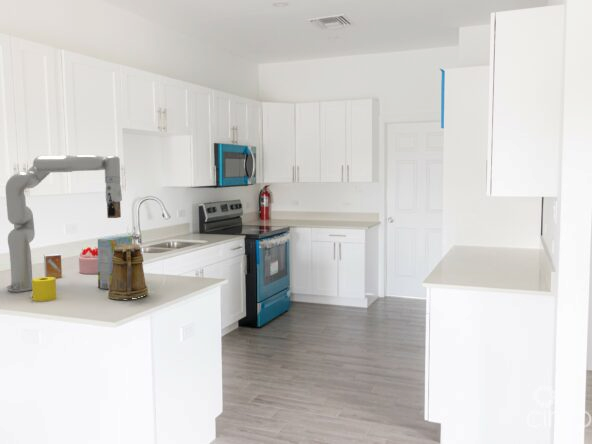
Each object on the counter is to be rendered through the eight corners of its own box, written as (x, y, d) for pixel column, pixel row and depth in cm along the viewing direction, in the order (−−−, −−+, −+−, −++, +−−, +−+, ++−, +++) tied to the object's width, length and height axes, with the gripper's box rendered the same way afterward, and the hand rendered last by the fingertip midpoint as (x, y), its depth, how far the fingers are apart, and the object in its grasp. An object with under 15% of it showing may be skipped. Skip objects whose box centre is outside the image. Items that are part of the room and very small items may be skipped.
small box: (46, 279, 295) (45, 256, 294) (44, 277, 300) (43, 254, 299) (62, 277, 299) (61, 254, 298) (60, 275, 305) (59, 253, 303)
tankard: (144, 290, 267) (142, 241, 265) (152, 300, 246) (151, 247, 243) (106, 293, 259) (104, 243, 257) (111, 304, 238) (109, 250, 236)
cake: (75, 270, 320) (74, 247, 318) (108, 267, 332) (108, 244, 330) (85, 276, 304) (83, 251, 303) (119, 271, 316) (118, 248, 315)
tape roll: (33, 297, 253) (32, 278, 252) (56, 295, 257) (55, 276, 256) (32, 302, 244) (31, 282, 243) (56, 299, 248) (55, 280, 247)
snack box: (113, 289, 268) (111, 239, 266) (97, 289, 270) (95, 239, 267) (134, 281, 289) (132, 234, 287) (119, 280, 291) (118, 234, 289)
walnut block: (116, 217, 274) (116, 202, 273) (107, 217, 274) (106, 202, 273) (120, 217, 278) (120, 201, 278) (111, 217, 279) (110, 201, 278)
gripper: (112, 180, 266) (114, 216, 267) (126, 179, 282) (127, 213, 284) (98, 180, 266) (99, 216, 268) (112, 179, 283) (113, 213, 285)
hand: (114, 214), depth 276 cm, fingers closed on walnut block, 5 cm apart
